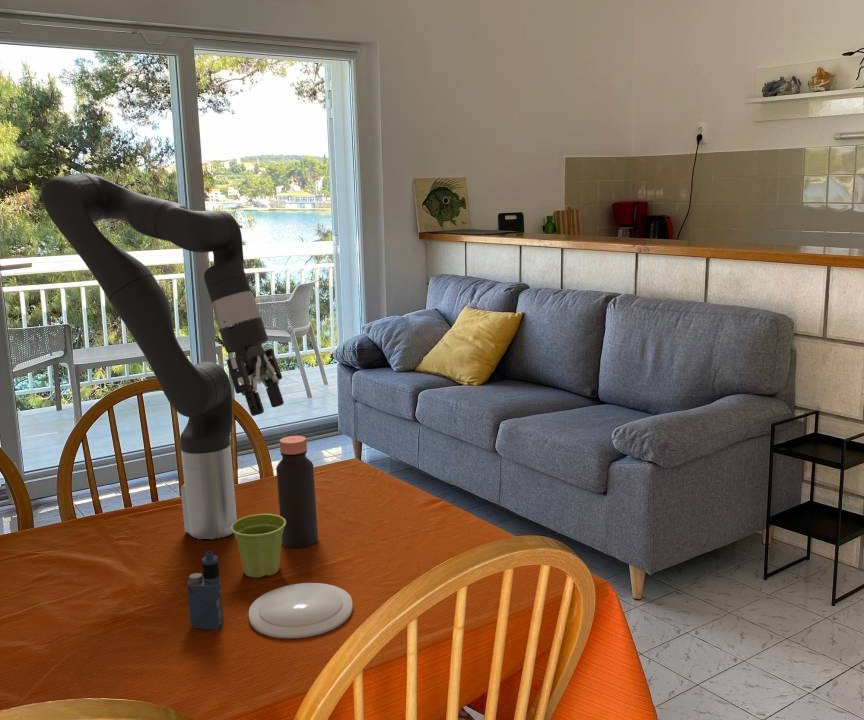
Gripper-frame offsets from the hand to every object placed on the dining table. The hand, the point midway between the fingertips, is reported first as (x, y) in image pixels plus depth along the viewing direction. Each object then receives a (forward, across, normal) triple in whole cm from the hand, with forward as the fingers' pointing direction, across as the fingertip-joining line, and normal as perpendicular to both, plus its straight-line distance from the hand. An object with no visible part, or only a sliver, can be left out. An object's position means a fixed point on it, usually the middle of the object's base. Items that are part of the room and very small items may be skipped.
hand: (268, 410), depth 150 cm
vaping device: (+28, +23, -10) cm, 38 cm away
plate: (+31, +17, +3) cm, 35 cm away
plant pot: (+26, +4, -9) cm, 28 cm away
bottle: (+26, -9, -7) cm, 28 cm away
